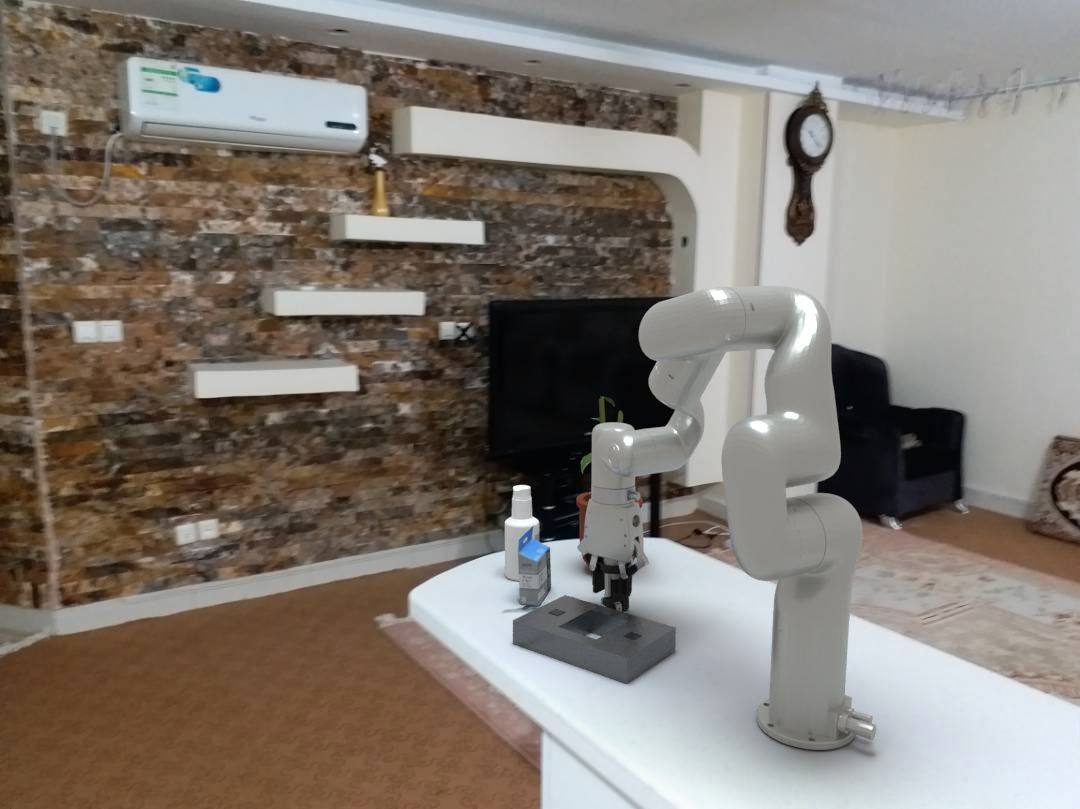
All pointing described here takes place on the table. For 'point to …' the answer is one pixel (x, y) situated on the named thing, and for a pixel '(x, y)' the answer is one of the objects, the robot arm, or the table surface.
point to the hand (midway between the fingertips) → (611, 593)
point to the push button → (612, 585)
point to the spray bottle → (518, 528)
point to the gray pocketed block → (614, 655)
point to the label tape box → (533, 570)
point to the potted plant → (585, 497)
